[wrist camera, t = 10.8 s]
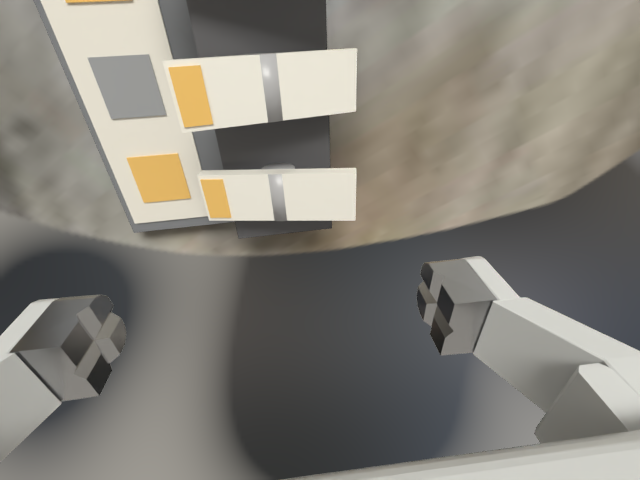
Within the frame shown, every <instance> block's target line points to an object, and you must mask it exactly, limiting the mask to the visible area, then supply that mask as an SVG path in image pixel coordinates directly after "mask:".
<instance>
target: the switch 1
mask: <svg viewBox="0 0 640 480" xmlns="http://www.w3.org/2000/svg"><path fill="white" fill-rule="evenodd" d="M162 62H163V66H164V69H165V73H166V77H167V80H168V84H169V87H170V91H171V95H172V98H173V102H174V105H175V109H176V113H177V116H178V120H179V123H180V127H181V131H182V133H187V132H195V131H203V130H211V129H219V128H227V127H235V126H243V125H251V124H259V123H267V122H278V121H284V120H292V119H300V118H308V117H316V116H324V115H332V114H340V113H348V112H356V80H357V48H346V49H330V50H315V51H299V52H275V53H256V54H245V55H236V56H220V57H205V58H189V59H173V60H163V61H162Z"/></svg>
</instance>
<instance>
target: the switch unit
mask: <svg viewBox="0 0 640 480" xmlns="http://www.w3.org/2000/svg"><path fill="white" fill-rule="evenodd" d="M34 3H35V5H36V7H37V10H38V12H39V14H40V16H41V19H42V21H43V23H44V26H45V28H46V30H47V33H48V35H49V37H50V40H51V42H52V44H53V47H54V49H55V51H56V54H57V56H58V58H59V60H60V63H61V65H62V67H63V70H64V72H65V74H66V77H67V79H68V81H69V84H70V86H71V88H72V91H73V93H74V95H75V97H76V100H77V102H78V104H79V107H80V109H81V111H82V114H83V116H84V118H85V121H86V123H87V125H88V128H89V130H90V132H91V134H92V137H93V139H94V141H95V144H96V146H97V148H98V151H99V153H100V155H101V158H102V160H103V162H104V165H105V167H106V169H107V172H108V174H109V176H110V178H111V181H112V183H113V185H114V188H115V190H116V192H117V195H118V197H119V199H120V202H121V204H122V206H123V209H124V211H125V213H126V215H127V218H128V220H129V222H130V225H131V227H132V229H133V232H134V233H135V232H145V231H154V230H163V229H173V228H182V227H191V226H201V225H210V224H219V223H229V222H235V224H236V229H237V233H238V238H239V239H240V238H249V237H258V236H266V235H275V234H284V233H293V232H302V231H311V230H320V229H329V228H332V221H209V218H208V214H207V211H206V207H205V203H204V200H203V196H202V192H201V189H200V185H199V181H198V178H197V175H198V174H199V173H200V172H201V171H202V170H252V169H262V168H263V167H264V166H266V165H269V164H274V163H289V164H292V165H294V166H295V169H316V168H330V140H329V115H324V116H316V117H308V118H300V119H292V120H284V121H278V122H267V123H259V124H251V125H243V126H235V127H227V128H219V129H211V130H203V131H195V132H187V133H182V131H181V127H180V123H179V120H178V116H177V113H176V109H175V105H174V102H173V98H172V95H171V91H170V87H169V84H168V80H167V77H166V73H165V69H164V66H163V62H162V61H163V60H173V59H189V58H205V57H220V56H236V55H245V54H256V53H275V52H299V51H315V50H327V30H326V0H34Z"/></svg>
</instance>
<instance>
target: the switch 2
mask: <svg viewBox="0 0 640 480" xmlns="http://www.w3.org/2000/svg"><path fill="white" fill-rule="evenodd" d="M197 178H198V181H199V185H200V189H201V192H202V196H203V200H204V203H205V207H206V211H207V214H208V218H209V221H355V215H356V168H316V169H295V166H294V165H292V164H289V163H274V164H269V165H266V166H264V167H263V168H262V169H252V170H202V171H201V172H200V173H199V174H198V175H197Z"/></svg>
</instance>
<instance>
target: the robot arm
mask: <svg viewBox="0 0 640 480" xmlns="http://www.w3.org/2000/svg"><path fill="white" fill-rule="evenodd" d="M420 275H421V277H422V279H423V282H422V283H421V284H420V285H419V286H418V289H417V305H418V309H419V312H420V315H421V317H422V319H423V321H424V322H426V323H428V324H429V325H430V326H432V327H431V331H430V335H431V337H432V339H433V341H434V343H435V345H436V347H437V349H438V351H439V353H440V355H451V354H462V353H473V352H474V353H473V354H474V355H475V356H476V357H477V358H479V359H480V360H481V361H482V362H484V363H485V364H486V365H487V366H488V367H490V368H491V369H492V370H493V371H495V372H496V373H497V374H498V375H500V376H501V377H502V378H504V379H505V380H506V381H507V382H509V383H510V384H511V385H512V386H513V387H515V388H516V389H517V390H518V391H520V392H521V393H522V394H523V395H525V396H526V397H527V398H528V399H530V400H531V401H532V402H533V403H534V404H536V405H537V406H538V407H539V408H541V409H542V410H543V411H545V412H546V414H545V415H544V417H543V418H542V420H541V421H540V423H539V424H538V426H537V427H536V430H535V433H534V434H535V435H536V437H537V438H538V440H539V442H540V443H541V444H534V445H527V446H520V447H512V448H506V449H498V450H491V451H485V452H477V453H469V454H462V455H455V456H448V457H441V458H434V459H426V460H419V461H411V462H404V463H397V464H390V465H383V466H375V467H368V468H361V469H354V470H346V471H339V472H332V473H325V474H318V475H310V476H303V477H296V478H289V479H282V480H640V351H638V350H636V349H634V348H632V347H630V346H628V345H626V344H624V343H622V342H619V341H617V340H615V339H613V338H611V337H609V336H607V335H605V334H602V333H600V332H598V331H596V330H594V329H592V328H590V327H588V326H586V325H584V324H581V323H579V322H577V321H575V320H573V319H571V318H569V317H567V316H565V315H562V314H560V313H558V312H556V311H554V310H552V309H550V308H547V307H545V306H543V305H541V304H539V303H537V302H535V301H533V300H531V299H529V298H527V297H525V298H520V297H519V296H518V295H517V294H516V293H515V291H514V290H513V289H512V288H511V287H510V286H509V285H508V284H507V283H506V282H505V280H504V279H503V278H502V277H501V276H500V275H499V274H498V273H497V272H496V271H495V269H494V268H493V267H492V266H491V265H490V264H489V263H488V262H487V261H486V259H484V258H483V257H480V256H476V257H468V258H461V259H454V260H446V261H435V262H426V263H424V264H423V265H422V267H421V273H420ZM112 308H113V304H112V302H111V301H110V299H109V298H108V296H104V295H90V296H77V297H64V298H56V299H43V300H38V301H35V302H33V303H31V304H30V305H29V306H28V307H27V308H26V309H25V310H24V311H23V312H22V313H21V314H20V315H19V316H18V317H17V319H16V320H15V321H14V322H13V323H12V324H11V325H10V326H9V327H8V328H7V329H6V330H5V331H4V333H3V334H2V335H1V336H0V462H1V461H2V460H3V459H4V458H5V457H6V456H7V455H8V454H9V453H10V452H11V451H13V449H14V448H16V447H17V446H18V445H19V444H20V443H21V442H22V441H23V440H24V439H25V438H26V437H27V436H28V435H29V434H30V433H31V432H32V431H33V430H34V429H35V428H37V427H38V426H39V425H40V424H41V423H42V422H43V421H44V420H45V419H46V418H47V417H48V416H49V415H50V414H51V413H52V412H53V411H54V410H55V409H56V408H57V407H58V406H59V405H60V404H61V401H66V400H74V399H80V398H87V397H95V396H99V395H100V394H101V392H102V390H103V388H104V386H105V384H106V382H107V380H108V378H109V376H110V374H111V372H112V368H111V365H110V363H111V362H112V361H113V360H114V359H115V358H117V357H118V356H119V355H120V353H121V352H122V349H123V347H124V345H125V340H126V329H125V324H124V323H123V321H122V319H121V318H120V317H118V316H117V315H115V314H113V313H111V311H112Z"/></svg>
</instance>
